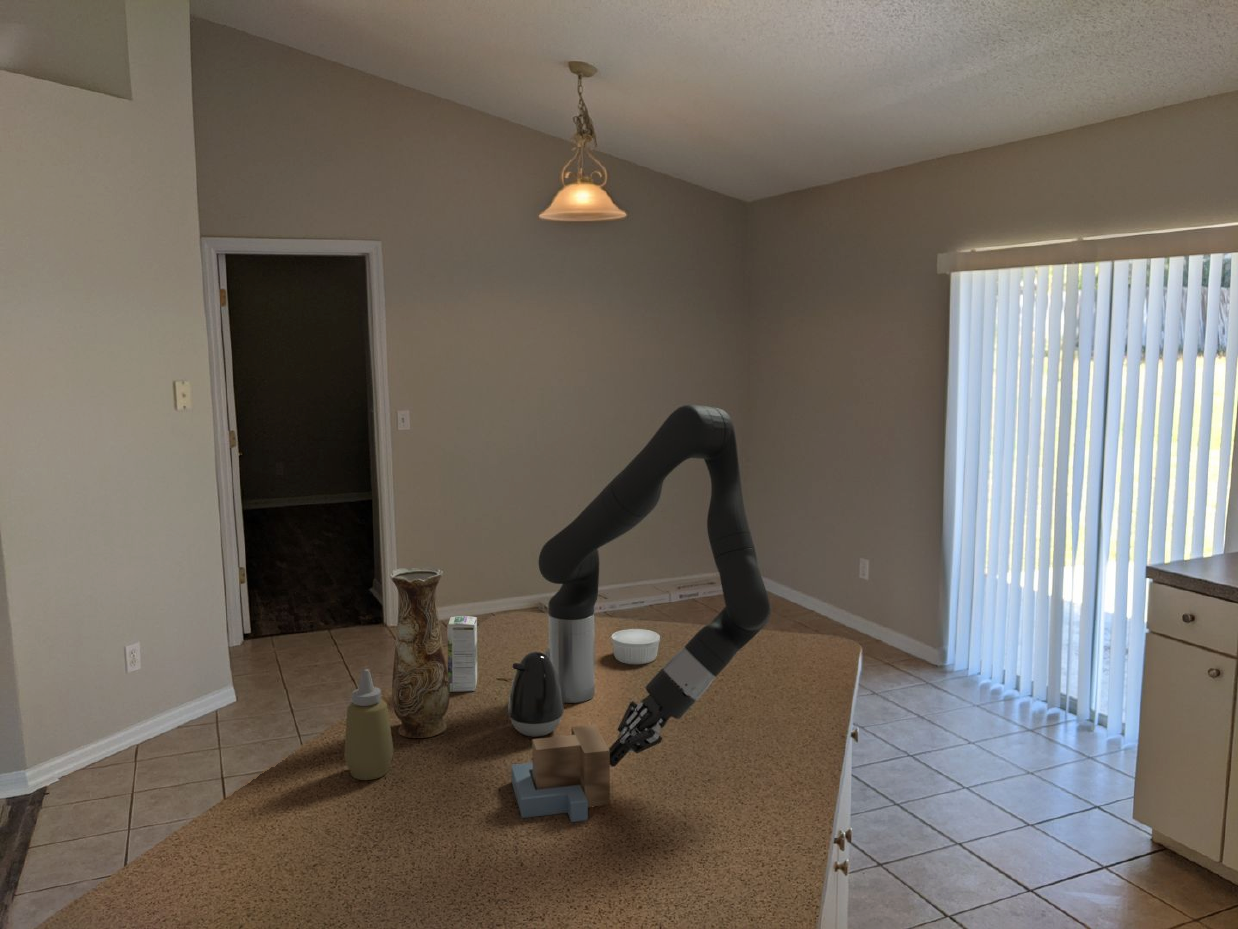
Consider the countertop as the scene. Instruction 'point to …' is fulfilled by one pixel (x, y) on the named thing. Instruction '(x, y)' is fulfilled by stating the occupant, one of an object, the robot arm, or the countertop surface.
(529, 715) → the roly-poly penguin toy
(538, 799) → the t socket
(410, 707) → the vase
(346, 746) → the squeeze bottle
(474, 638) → the syrup box
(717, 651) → the robot arm
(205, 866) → the countertop surface
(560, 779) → the t block
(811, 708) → the countertop surface
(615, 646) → the ramekin
